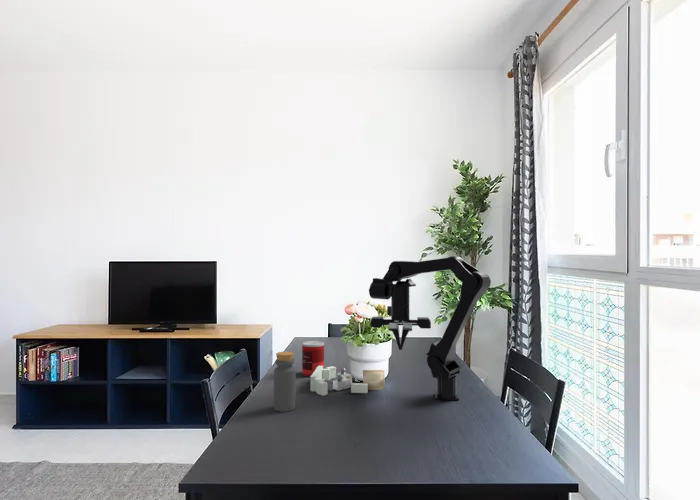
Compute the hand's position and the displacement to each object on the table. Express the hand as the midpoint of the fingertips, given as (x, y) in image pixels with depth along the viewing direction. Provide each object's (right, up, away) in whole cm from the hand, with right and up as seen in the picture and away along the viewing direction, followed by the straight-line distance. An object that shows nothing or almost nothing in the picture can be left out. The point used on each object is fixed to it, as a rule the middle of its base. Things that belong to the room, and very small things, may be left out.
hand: (400, 349), depth 141 cm
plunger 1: (-19, -12, -2) cm, 22 cm away
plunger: (-18, -12, +5) cm, 22 cm away
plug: (-8, -12, +1) cm, 15 cm away
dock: (-18, -12, +2) cm, 22 cm away
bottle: (-34, -12, -20) cm, 41 cm away
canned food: (-29, -12, +16) cm, 35 cm away
